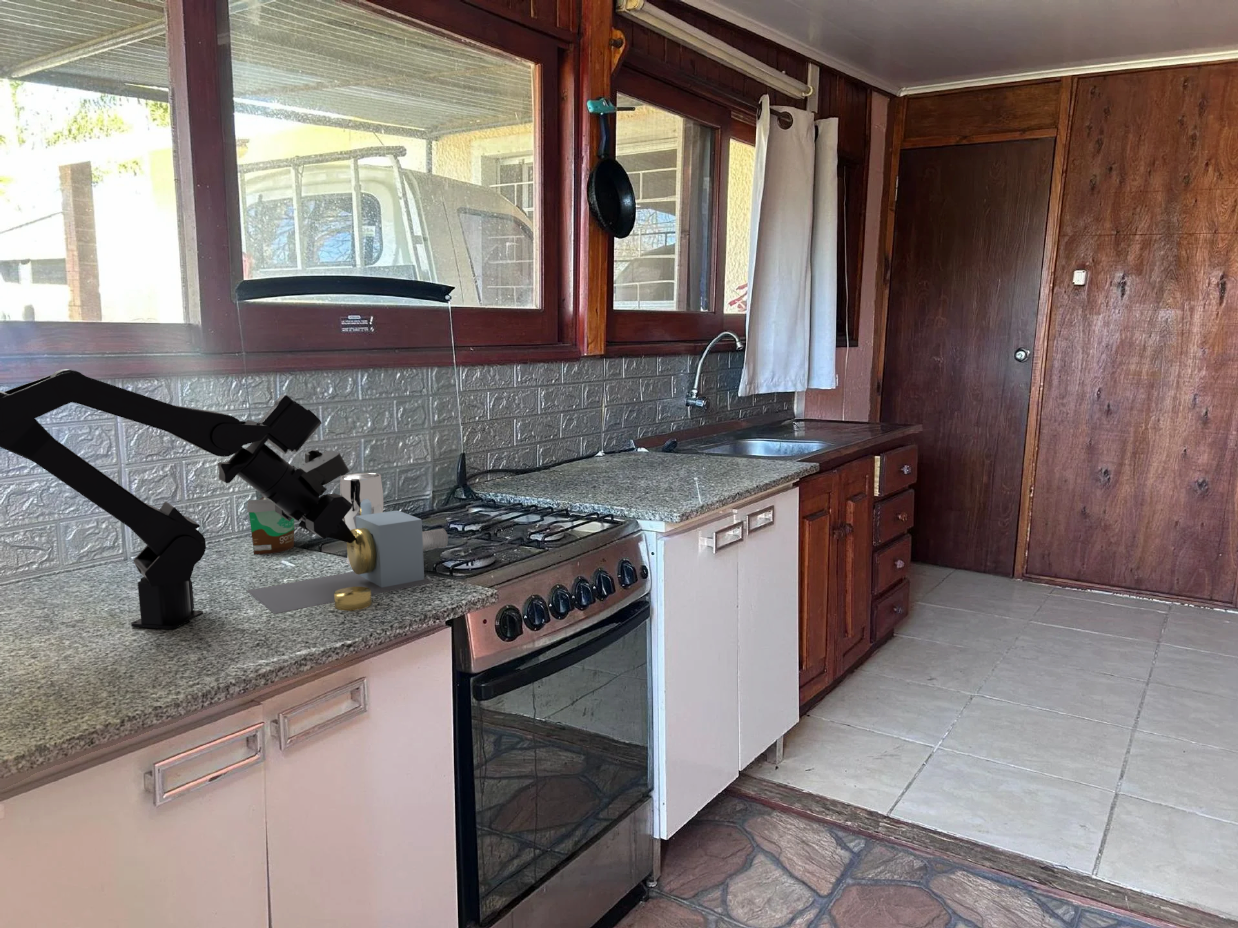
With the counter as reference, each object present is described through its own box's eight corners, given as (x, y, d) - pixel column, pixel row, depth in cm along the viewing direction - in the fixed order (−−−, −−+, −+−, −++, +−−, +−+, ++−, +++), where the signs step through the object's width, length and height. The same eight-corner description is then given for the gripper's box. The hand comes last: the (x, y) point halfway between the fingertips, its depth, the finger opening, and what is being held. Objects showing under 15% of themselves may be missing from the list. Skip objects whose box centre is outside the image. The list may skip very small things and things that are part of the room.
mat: (274, 616, 120) (274, 613, 120) (246, 592, 131) (245, 590, 131) (433, 584, 134) (433, 582, 134) (396, 566, 145) (396, 563, 145)
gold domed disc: (361, 615, 121) (360, 597, 120) (328, 613, 122) (327, 595, 121) (377, 604, 126) (377, 587, 125) (345, 602, 126) (344, 585, 126)
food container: (285, 556, 152) (281, 500, 151) (250, 556, 152) (246, 500, 151) (311, 540, 164) (308, 488, 163) (278, 540, 164) (275, 488, 163)
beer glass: (392, 557, 151) (388, 472, 149) (377, 568, 144) (372, 479, 142) (353, 557, 152) (349, 472, 149) (336, 567, 145) (331, 479, 142)
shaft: (365, 578, 131) (363, 533, 130) (348, 569, 137) (345, 525, 136) (454, 562, 140) (452, 520, 139) (434, 554, 146) (433, 513, 145)
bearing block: (381, 587, 132) (378, 525, 130) (359, 574, 139) (355, 516, 137) (424, 579, 136) (421, 519, 135) (400, 567, 143) (397, 510, 142)
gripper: (333, 440, 120) (412, 508, 128) (290, 429, 134) (363, 490, 143) (279, 504, 116) (363, 569, 125) (241, 485, 131) (318, 545, 139)
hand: (353, 540), depth 133 cm, fingers closed, pressing on shaft
